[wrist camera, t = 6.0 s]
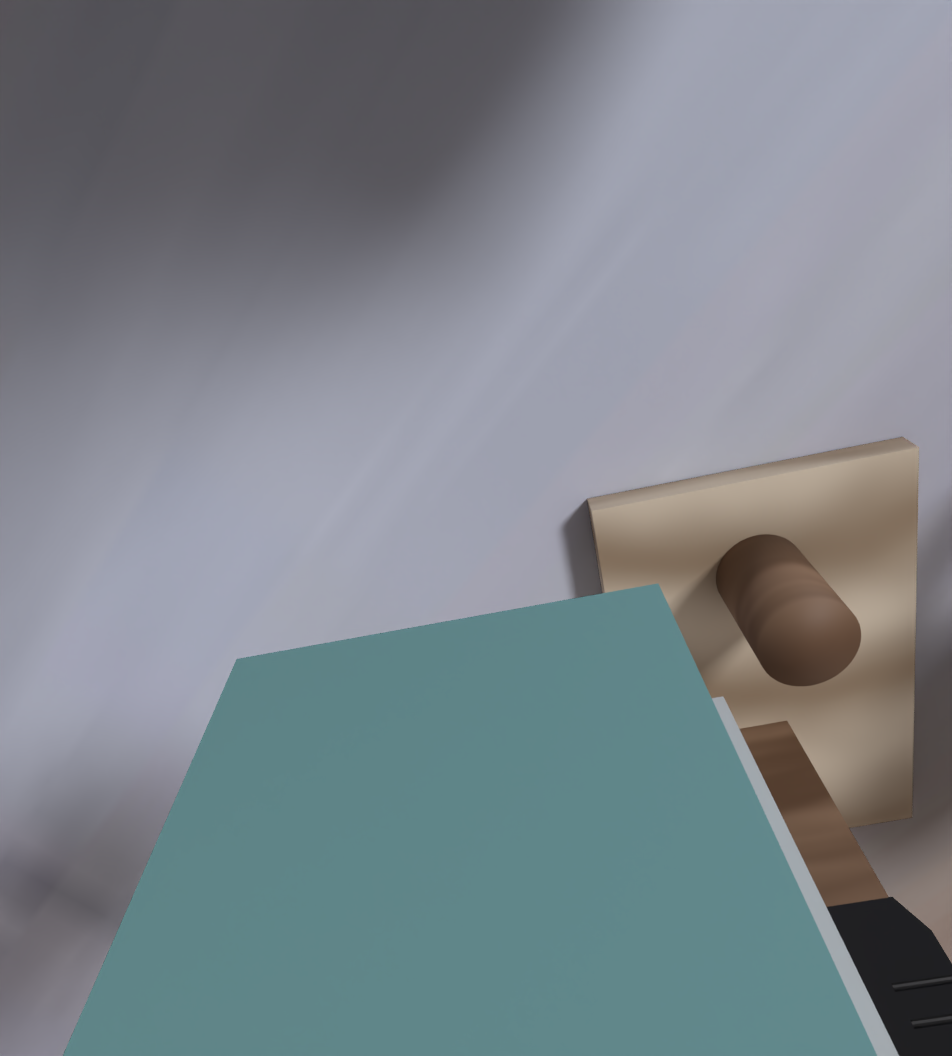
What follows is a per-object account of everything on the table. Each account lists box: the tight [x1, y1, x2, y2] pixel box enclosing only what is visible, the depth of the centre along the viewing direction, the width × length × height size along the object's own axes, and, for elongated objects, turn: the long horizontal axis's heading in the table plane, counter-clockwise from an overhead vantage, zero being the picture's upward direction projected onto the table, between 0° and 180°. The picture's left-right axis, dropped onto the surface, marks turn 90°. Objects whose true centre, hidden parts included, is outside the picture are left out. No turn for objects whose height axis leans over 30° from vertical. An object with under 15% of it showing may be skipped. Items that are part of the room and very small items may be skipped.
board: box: [587, 437, 919, 907], centre depth 30 cm, size 18×12×11 cm, turn 12°
